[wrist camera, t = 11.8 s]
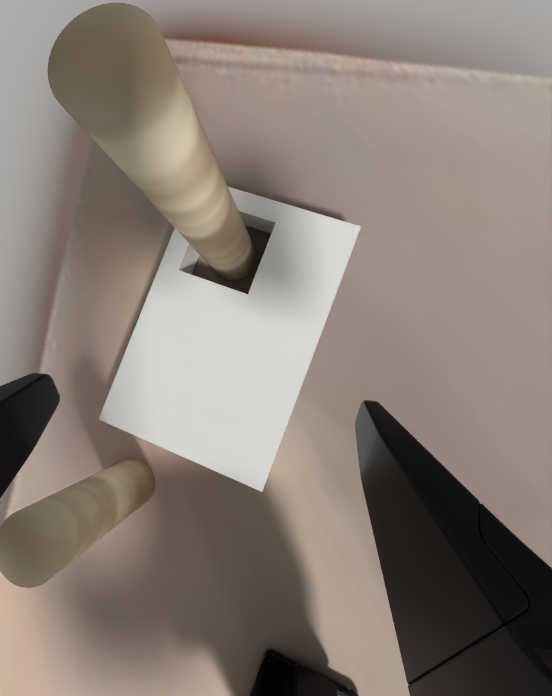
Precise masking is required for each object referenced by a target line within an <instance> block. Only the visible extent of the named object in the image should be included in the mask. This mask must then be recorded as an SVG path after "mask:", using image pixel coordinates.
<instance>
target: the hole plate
mask: <svg viewBox="0 0 552 696" xmlns="http://www.w3.org/2000/svg"><path fill="white" fill-rule="evenodd" d="M228 188H229V190H230V192H231V195H232V197H233V199H234V202H235V204H236V206H237V209H238V211H239V213H240V216H241V218H242V220H243V223H244V225H245V226H248V227H252V228H255V229H258V230H261V231H264V232H267V233H270V234H271V236H270V238H269V241H268V244H267V246H266V249H265V251H264V254H263V257H262V259H261V262H260V264H259V267H258V270H257V272H256V275H255V277H254V280H253V283H252V285H251V288H250V290H249V293H248V294H245V293H243V292H240V291H237V290H234V289H231V288H228V287H225V286H223V285H220V284H217V283H214V282H211V281H208V280H205V279H203V278H200V277H197V276H194V275H192V273H193V271H194V268H195V265H196V263H197V260H198V258H199V253H198V252H197V251H196V250H195V249H194V248H193V247H192V246H191V245H190V244H189V243H188V242H187V240H186V239H185V238H184V237H183V236H182V235H181V234H180V233H179V232H178V231H177V230H176V229H174V231H173V234H172V236H171V239H170V241H169V244H168V246H167V249H166V251H165V254H164V256H163V259H162V261H161V264H160V266H159V269H158V271H157V274H156V276H155V279H154V281H153V284H152V286H151V289H150V291H149V294H148V296H147V299H146V301H145V304H144V306H143V309H142V311H141V314H140V316H139V319H138V321H137V324H136V326H135V329H134V331H133V334H132V336H131V339H130V341H129V344H128V346H127V349H126V351H125V354H124V356H123V359H122V361H121V364H120V367H119V369H118V372H117V374H116V377H115V379H114V382H113V384H112V387H111V389H110V392H109V394H108V397H107V399H106V402H105V404H104V407H103V409H102V412H101V414H100V417H99V420H101V421H103V422H106V423H108V424H110V425H112V426H115V427H117V428H119V429H121V430H124V431H126V432H128V433H130V434H133V435H135V436H137V437H139V438H142V439H144V440H146V441H148V442H151V443H153V444H155V445H157V446H160V447H162V448H164V449H166V450H169V451H171V452H173V453H175V454H178V455H180V456H182V457H184V458H187V459H189V460H191V461H193V462H196V463H198V464H200V465H202V466H205V467H207V468H209V469H211V470H214V471H216V472H218V473H220V474H223V475H225V476H227V477H229V478H232V479H234V480H236V481H238V482H241V483H243V484H245V485H247V486H250V487H252V488H254V489H256V490H259V491H261V492H262V491H263V488H264V486H265V483H266V481H267V478H268V475H269V473H270V470H271V467H272V465H273V462H274V459H275V456H276V454H277V451H278V448H279V446H280V443H281V440H282V438H283V435H284V432H285V430H286V427H287V424H288V422H289V419H290V416H291V413H292V411H293V408H294V405H295V403H296V400H297V397H298V395H299V392H300V389H301V387H302V384H303V381H304V379H305V376H306V373H307V370H308V368H309V365H310V362H311V360H312V357H313V354H314V352H315V349H316V346H317V344H318V341H319V338H320V336H321V333H322V330H323V327H324V325H325V322H326V319H327V317H328V314H329V311H330V309H331V306H332V303H333V301H334V298H335V295H336V293H337V290H338V287H339V284H340V282H341V279H342V276H343V274H344V271H345V268H346V266H347V263H348V260H349V258H350V255H351V252H352V250H353V247H354V244H355V241H356V239H357V236H358V233H359V230H360V228H361V226H357V225H354V224H351V223H347V222H344V221H341V220H337V219H334V218H331V217H327V216H324V215H321V214H317V213H314V212H311V211H307V210H304V209H301V208H297V207H294V206H291V205H287V204H284V203H281V202H277V201H274V200H271V199H268V198H264V197H261V196H258V195H254V194H251V193H248V192H244V191H241V190H238V189H234V188H231V187H228Z"/></svg>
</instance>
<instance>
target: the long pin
mask: <svg viewBox="0 0 552 696" xmlns="http://www.w3.org/2000/svg"><path fill="white" fill-rule="evenodd" d="M48 79H49V83H50V87H51V90H52V92H53V94H54V96H55V97H56V99H57V100H58V102H59V103H60V104H61V105H62V106H63V107H64V108H65V109H66V111H67V112H69V114H70V115H71V116H72V117H73V118H74V119H75V120H76V121H77V122H78V124H80V126H81V127H82V128H83V129H84V130H85V131H86V132H87V133H88V134H89V135H90V137H91V138H92V139H93V140H94V141H95V142H96V143H97V144H98V145H99V146H100V147H101V148H102V150H103V151H104V152H105V153H106V154H107V155H108V156H109V157H110V158H111V159H112V160H113V161H114V163H115V164H116V165H117V166H118V167H119V168H120V169H121V170H122V171H123V172H124V173H125V174H126V175H127V177H128V178H129V179H130V180H131V181H132V182H133V183H134V184H135V185H136V186H137V187H138V188H139V190H140V191H141V192H142V193H143V194H144V195H145V196H146V197H147V198H148V199H149V200H150V201H151V203H152V204H153V205H154V206H155V207H156V208H157V209H158V210H159V211H160V212H161V213H162V214H163V216H164V217H165V218H166V219H167V220H168V221H169V222H170V223H171V224H172V225H173V226H174V227H175V229H176V230H177V231H178V232H179V233H180V234H181V235H182V236H183V237H184V238H185V239H186V240H187V242H188V243H189V244H190V245H191V246H192V247H193V248H194V249H195V250H196V251H197V252H198V253H199V255H200V256H201V257H202V258H203V259H204V260H205V261H206V262H207V263H208V264H209V265H210V266H211V268H212V269H213V270H214V271H215V272H216V273H217V274H218V275H219V276H220V277H222V278H224V279H226V280H230V281H236V280H240V279H243V278H245V277H246V276H248V275H249V274H250V273H251V272H252V270H253V269H254V267H255V264H256V259H257V255H256V251H255V248H254V246H253V243H252V241H251V239H250V236H249V234H248V232H247V229H246V227H245V225H244V223H243V220H242V218H241V216H240V213H239V211H238V209H237V206H236V204H235V202H234V199H233V197H232V195H231V192H230V190H229V188H228V186H227V183H226V181H225V179H224V176H223V174H222V172H221V169H220V167H219V165H218V162H217V160H216V158H215V155H214V153H213V151H212V149H211V146H210V144H209V142H208V139H207V137H206V135H205V132H204V130H203V128H202V125H201V123H200V121H199V118H198V116H197V114H196V112H195V109H194V107H193V105H192V102H191V100H190V98H189V95H188V93H187V91H186V88H185V86H184V84H183V81H182V79H181V77H180V74H179V72H178V70H177V68H176V65H175V63H174V61H173V58H172V56H171V54H170V51H169V49H168V47H167V44H166V42H165V40H164V38H163V35H162V33H161V31H160V29H159V27H158V25H157V23H156V22H155V20H154V19H153V18H152V17H151V16H150V15H149V14H148V13H146V12H145V11H143V10H141V9H140V8H138V7H136V6H133V5H129V4H125V3H109V4H103V5H99V6H96V7H93V8H91V9H89V10H87V11H85V12H83V13H81V14H80V15H78V16H77V17H76V18H74V19H73V20H72V21H71V22H70V23H69V24H68V25H67V26H66V27H65V28H64V29H63V31H62V32H61V33H60V35H59V36H58V38H57V40H56V41H55V43H54V46H53V48H52V50H51V54H50V57H49V63H48Z"/></svg>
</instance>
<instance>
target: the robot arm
mask: <svg viewBox="0 0 552 696" xmlns="http://www.w3.org/2000/svg"><path fill="white" fill-rule="evenodd" d="M59 401H60V395H59V393H58V390H57V388H56V386H55V383H54V381H53V379H52V377H51V376H50V375H48V374H39V373H33V374H29V375H27V376H24V377H22V378H19V379H17V380H14V381H12V382H10V383H7V384H5V385H2V386H0V498H1V496H2V495H3V493H4V492H5V491H6V489H7V488H8V486H9V485H10V483H11V482H12V480H13V479H14V477H15V476H16V475H17V473H18V472H19V470H20V469H21V467H22V466H23V464H24V463H25V461H26V460H27V458H28V457H29V455H30V454H31V452H32V451H33V449H34V447H35V446H36V444H37V442H38V440H39V439H40V437H41V435H42V433H43V431H44V429H45V428H46V426H47V424H48V422H49V420H50V419H51V417H52V415H53V413H54V411H55V410H56V408H57V406H58V404H59ZM355 431H356V440H357V449H358V458H359V467H360V475H361V480H362V485H363V490H364V494H365V499H366V503H367V507H368V512H369V516H370V521H371V525H372V529H373V534H374V538H375V543H376V547H377V551H378V556H379V560H380V565H381V569H382V573H383V578H384V582H385V587H386V591H387V595H388V600H389V604H390V609H391V613H392V617H393V622H394V626H395V631H396V635H397V639H398V644H399V648H400V653H401V657H402V661H403V666H404V670H405V675H406V679H407V683H408V684H409V685H408V689H409V693H410V696H552V568H551V567H550V566H549V565H547V564H546V563H545V562H544V561H543V560H542V559H541V558H540V557H539V556H537V555H536V554H535V553H534V552H533V551H532V550H531V549H530V548H528V547H527V546H526V545H525V544H524V543H523V542H522V541H521V540H520V539H518V538H517V537H516V536H515V535H514V534H513V533H512V532H511V531H510V530H509V529H508V528H507V527H506V526H505V525H504V524H503V523H502V522H500V521H499V520H498V519H497V518H496V517H495V516H494V515H493V514H492V513H491V512H490V511H489V510H488V509H487V508H486V507H485V506H484V505H483V504H479V500H478V499H477V498H476V497H475V496H474V495H473V494H472V493H471V492H469V491H468V490H467V489H466V488H465V487H464V486H463V485H462V484H461V483H460V482H459V481H458V480H457V479H456V478H455V477H454V476H453V475H452V474H451V473H450V472H449V471H448V470H447V469H446V468H445V467H444V466H443V465H442V464H441V463H440V462H439V461H438V460H437V459H436V458H435V457H434V456H433V455H432V454H431V453H430V452H429V451H428V450H427V449H425V448H424V447H423V446H422V445H421V444H420V443H419V442H418V441H417V440H416V439H415V438H414V437H413V436H412V435H411V434H410V433H409V432H408V431H407V430H406V429H405V428H404V427H403V426H402V425H401V424H400V423H399V422H398V421H397V420H396V419H395V418H394V417H393V416H392V415H391V414H390V413H389V412H388V411H387V410H386V409H385V408H384V407H383V406H381V405H380V404H379V403H378V402H377V401H368V400H364V401H362V403H361V405H360V408H359V411H358V414H357V417H356V421H355ZM269 659H270V660H272V661H273V662H269V661H268V660H269ZM249 696H358V695H357V694H356V693H355V692H353V691H351V690H349V689H347V688H345V687H343V686H341V685H339V684H338V683H336V682H334V681H332V680H330V679H328V678H326V677H324V676H322V675H320V674H318V673H316V672H314V671H312V670H311V669H309V668H307V667H305V666H303V665H301V664H299V663H297V662H295V661H293V660H291V659H289V658H287V657H285V656H283V655H282V654H280V653H278V652H276V651H274V650H271V649H270V650H267V651H265V653H264V655H263V657H262V660H261V663H260V666H259V668H258V671H257V674H256V677H255V679H254V682H253V685H252V688H251V690H250V693H249Z"/></svg>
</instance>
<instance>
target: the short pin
mask: <svg viewBox="0 0 552 696" xmlns="http://www.w3.org/2000/svg"><path fill="white" fill-rule="evenodd" d="M154 486H155V479H154V475H153V472H152V470H151V468H150V467H149V466H148V465H147V464H146V463H145V462H144V461H142V460H139V459H134V458H132V459H126V460H124V461H122V462H120V463H118V464H116V465H113V466H111V467H109V468H107V469H105V470H103V471H101V472H99V473H97V474H95V475H92V476H90V477H88V478H86V479H84V480H82V481H80V482H78V483H76V484H74V485H71V486H69V487H67V488H65V489H63V490H61V491H59V492H57V493H55V494H53V495H51V496H48V497H46V498H44V499H42V500H40V501H38V502H36V503H34V504H32V505H30V506H27V507H25V508H23V509H21V510H19V511H17V512H15V513H13V514H12V515H10V516H9V517H8V518H7V519H6V520H5V521H4V522H3V524H2V525H1V527H0V571H1V572H2V574H3V575H4V576H5V577H6V578H7V579H8V580H9V581H10V582H12V583H13V584H15V585H17V586H20V587H26V588H31V587H36V586H39V585H41V584H43V583H45V582H46V581H48V580H49V579H50V578H51V577H53V576H54V575H55V574H56V573H58V572H59V571H60V570H61V569H63V568H64V567H65V566H66V565H68V564H69V563H70V562H71V561H73V560H74V559H75V558H76V557H78V556H79V555H80V554H81V553H83V552H84V551H85V550H86V549H88V548H89V547H90V546H91V545H93V544H94V543H95V542H96V541H98V540H99V539H100V538H101V537H103V536H104V535H105V534H106V533H108V532H109V531H110V530H111V529H113V528H114V527H115V526H116V525H118V524H119V523H120V522H122V521H123V520H124V519H125V518H127V517H128V516H129V515H130V514H132V513H133V512H134V511H135V510H137V509H138V508H139V507H140V506H142V505H143V504H144V503H145V502H146V501H148V499H149V498H150V497H151V495H152V493H153V491H154Z"/></svg>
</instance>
